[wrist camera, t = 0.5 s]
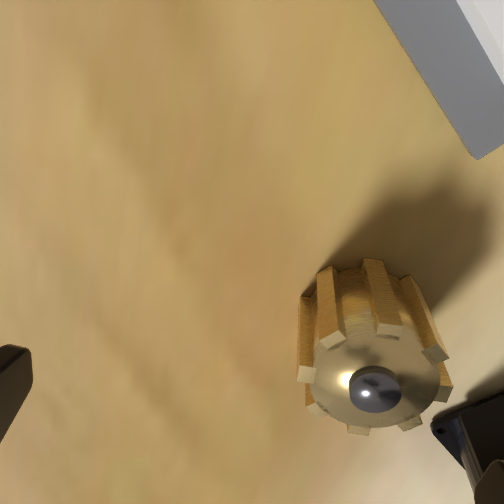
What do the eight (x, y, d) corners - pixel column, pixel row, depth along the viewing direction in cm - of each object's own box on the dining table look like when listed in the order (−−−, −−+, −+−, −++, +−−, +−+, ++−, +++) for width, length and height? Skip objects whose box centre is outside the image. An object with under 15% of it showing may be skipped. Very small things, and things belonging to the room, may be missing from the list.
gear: (446, 322, 22) (487, 411, 17) (343, 374, 24) (353, 464, 19) (379, 234, 20) (403, 305, 15) (274, 299, 22) (265, 380, 17)
